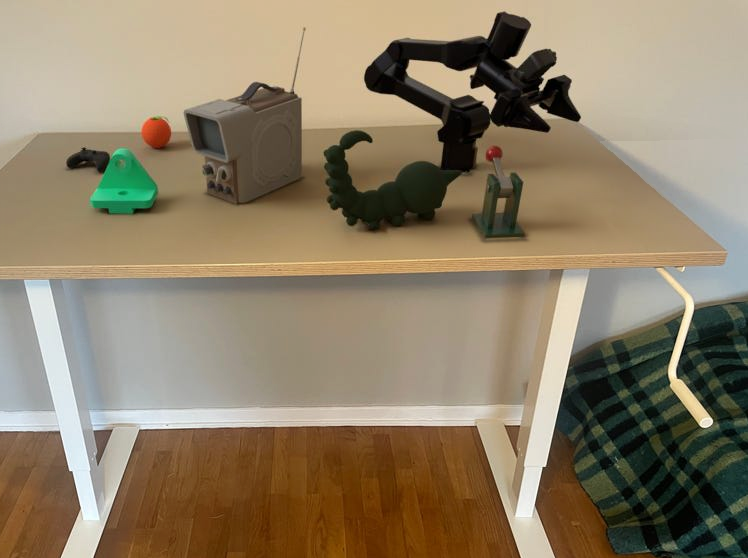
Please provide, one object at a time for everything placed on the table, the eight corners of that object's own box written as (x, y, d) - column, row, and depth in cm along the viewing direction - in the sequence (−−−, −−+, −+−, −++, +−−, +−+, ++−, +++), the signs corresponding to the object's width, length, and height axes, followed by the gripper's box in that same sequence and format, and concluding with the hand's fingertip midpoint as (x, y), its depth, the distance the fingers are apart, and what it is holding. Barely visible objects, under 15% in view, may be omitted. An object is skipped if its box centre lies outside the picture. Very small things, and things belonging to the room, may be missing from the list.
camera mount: (91, 213, 144) (81, 162, 138) (101, 197, 150) (92, 148, 144) (151, 213, 143) (144, 162, 137) (158, 197, 149) (152, 148, 143)
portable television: (189, 197, 149) (174, 40, 131) (269, 164, 163) (265, 18, 145) (230, 213, 142) (220, 49, 125) (310, 177, 156) (311, 25, 139)
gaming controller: (63, 165, 163) (70, 140, 164) (75, 175, 168) (83, 151, 169) (100, 170, 160) (107, 144, 160) (112, 180, 165) (119, 156, 166)
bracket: (471, 219, 137) (478, 169, 131) (508, 218, 137) (517, 167, 131) (484, 241, 130) (492, 188, 124) (523, 239, 130) (533, 186, 124)
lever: (482, 155, 135) (486, 142, 133) (498, 154, 135) (502, 141, 133) (494, 199, 129) (499, 187, 127) (511, 199, 129) (516, 186, 127)
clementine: (160, 139, 179) (157, 109, 175) (181, 144, 175) (178, 114, 171) (137, 148, 173) (133, 118, 169) (158, 154, 170) (155, 123, 166)
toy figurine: (335, 246, 133) (469, 224, 134) (328, 145, 122) (474, 121, 123) (325, 224, 140) (452, 203, 142) (318, 127, 129) (455, 105, 131)
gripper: (489, 47, 130) (554, 95, 124) (553, 32, 139) (617, 75, 133) (465, 103, 139) (525, 150, 132) (527, 85, 148) (586, 128, 141)
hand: (564, 124), depth 134 cm, fingers open, 9 cm apart
